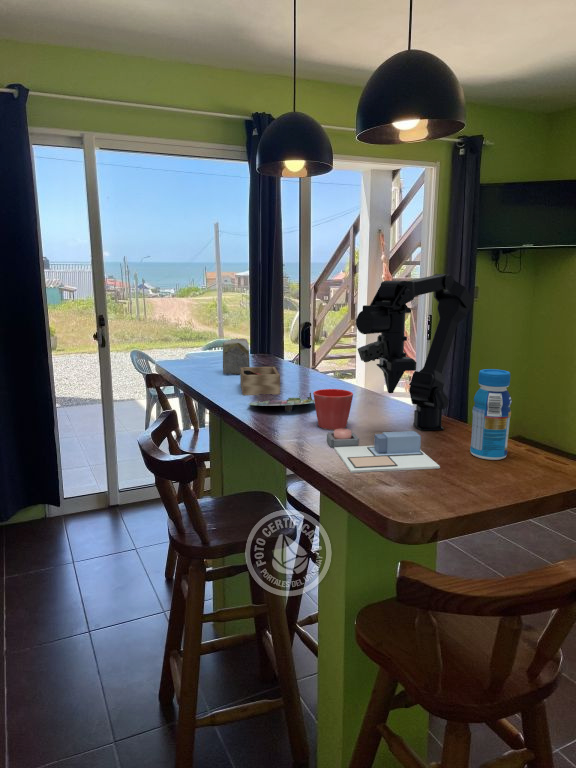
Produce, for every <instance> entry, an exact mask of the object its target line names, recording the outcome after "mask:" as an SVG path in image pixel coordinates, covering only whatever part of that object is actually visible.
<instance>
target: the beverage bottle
mask: <svg viewBox="0 0 576 768" xmlns="http://www.w3.org/2000/svg"><path fill="white" fill-rule="evenodd" d="M477 383H478V385H479V386H480V387H479V388H478V390H477V391H476V392H475V395H474V397H473V402H474V405H473V407H472V411H471V412H472V420H471V421H472V422H471V423H472V425H471V436H470V437H471V439H470V440H471V441H470V447H469V448H470V449H469V451H470V454H471V455H473V456H474V457H476V458H478V459H483V460H489V461H490V460H491V461H499V460H503V459H506V457H507V455H508V444H509V443H508V442H509V441H508V440H509V432H510V421H511V420H510V419H511V417H512V410H511V405H512V403H513V402H512V401H513V400H512V397H511V395H510V392H509V390H508V389H507V388H508V387H510V385H511V384H510V383H511V372H510V371H508V370H504V369H496V368H487V369H480V370H479V372H478V382H477Z"/></svg>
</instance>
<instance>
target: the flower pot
mask: <svg viewBox="0 0 576 768" xmlns="http://www.w3.org/2000/svg"><path fill="white" fill-rule="evenodd" d="M353 397H354V393H353V392H352V391H351V390H346V389H338V388H331V389H330V388H325V389H318V390H317V389H316V390H314V391H313V400H314V401H315V402H314V407H315V414H316V419H317V424H318V427H319V428H322V429H324V430H328V431H329V430H331V431H334V430H335V429H346V428H347V424H348V421H349V415H350V411H351V408H352V407H351V406H352V403H353Z"/></svg>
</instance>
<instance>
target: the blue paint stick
mask: <svg viewBox="0 0 576 768" xmlns="http://www.w3.org/2000/svg"><path fill="white" fill-rule="evenodd" d="M421 439H422V436H421V435H420V434H419V433H418V432H416V431H415V430H413V431H411V430H409V431H389V432H387V431H386V432H385V431H383V432H382V433H378V434H377V433H375V434H374V442H373V446H374V448H375V449H376V451H377V452H378V453H382V452H386V453H387V454H396V453H418V452H420V450H421V441H422V440H421Z"/></svg>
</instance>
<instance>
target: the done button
mask: <svg viewBox="0 0 576 768" xmlns="http://www.w3.org/2000/svg"><path fill="white" fill-rule="evenodd" d="M333 432H334V439H351V436H352V433H353V431H352V430H351V429H349V428H343V429H335V430H333Z"/></svg>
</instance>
